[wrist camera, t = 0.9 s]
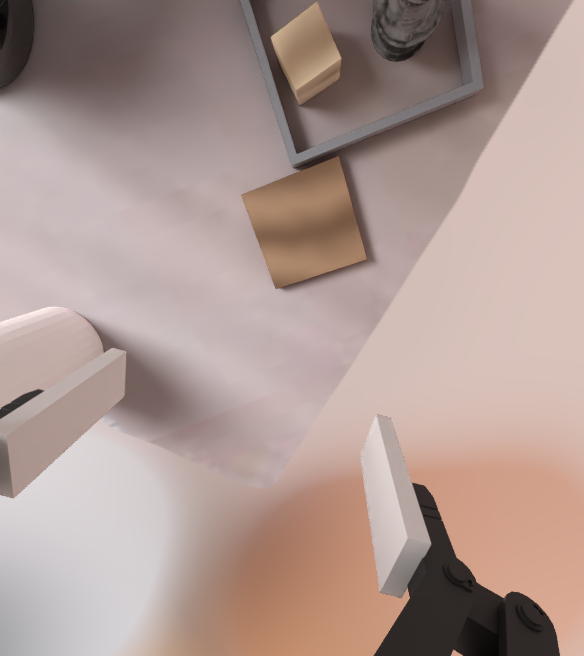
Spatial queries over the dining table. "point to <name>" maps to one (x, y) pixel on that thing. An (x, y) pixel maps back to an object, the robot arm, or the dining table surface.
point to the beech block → (307, 54)
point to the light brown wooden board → (305, 223)
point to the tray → (470, 87)
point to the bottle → (43, 350)
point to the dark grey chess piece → (404, 26)
